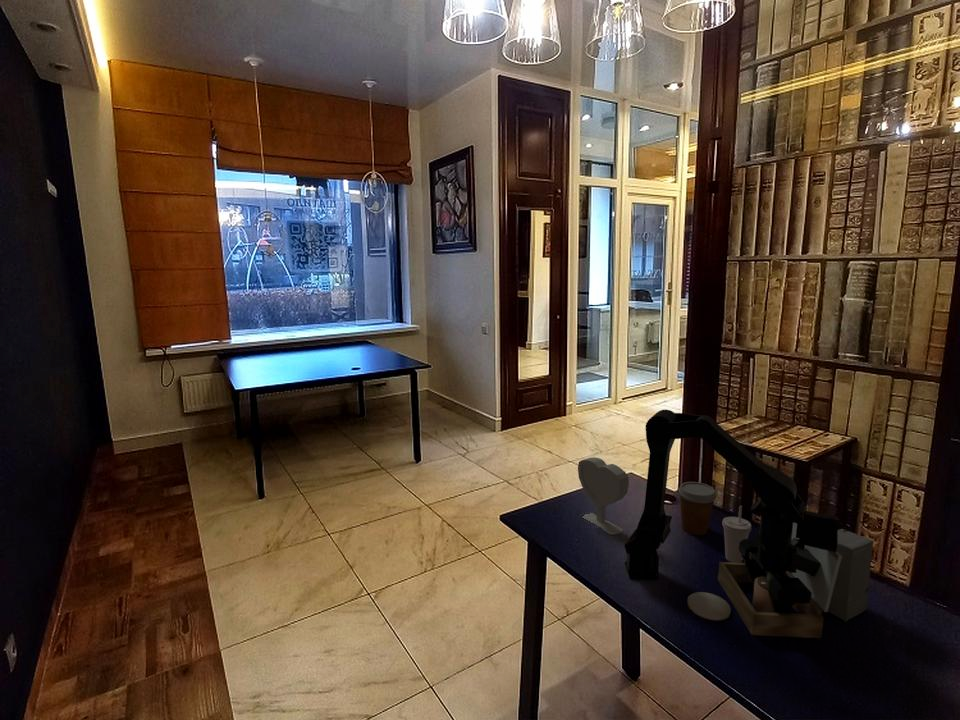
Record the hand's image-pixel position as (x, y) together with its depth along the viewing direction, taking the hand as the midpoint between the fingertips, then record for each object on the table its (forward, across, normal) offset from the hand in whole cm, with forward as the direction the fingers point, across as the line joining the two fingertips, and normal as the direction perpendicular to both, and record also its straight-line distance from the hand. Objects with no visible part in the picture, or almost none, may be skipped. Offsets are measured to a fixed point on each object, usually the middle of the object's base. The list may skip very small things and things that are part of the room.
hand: (768, 605), depth 107 cm
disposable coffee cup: (+2, +34, +4) cm, 34 cm away
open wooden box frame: (+2, +2, -2) cm, 3 cm away
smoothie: (+2, +20, -1) cm, 20 cm away
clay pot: (+2, 0, 0) cm, 2 cm away
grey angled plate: (-10, +2, -8) cm, 13 cm away
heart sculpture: (+2, +36, +29) cm, 46 cm away
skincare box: (+2, +3, -16) cm, 16 cm away
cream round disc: (+2, +1, +12) cm, 12 cm away
